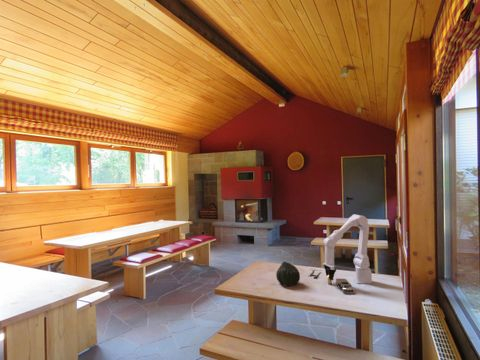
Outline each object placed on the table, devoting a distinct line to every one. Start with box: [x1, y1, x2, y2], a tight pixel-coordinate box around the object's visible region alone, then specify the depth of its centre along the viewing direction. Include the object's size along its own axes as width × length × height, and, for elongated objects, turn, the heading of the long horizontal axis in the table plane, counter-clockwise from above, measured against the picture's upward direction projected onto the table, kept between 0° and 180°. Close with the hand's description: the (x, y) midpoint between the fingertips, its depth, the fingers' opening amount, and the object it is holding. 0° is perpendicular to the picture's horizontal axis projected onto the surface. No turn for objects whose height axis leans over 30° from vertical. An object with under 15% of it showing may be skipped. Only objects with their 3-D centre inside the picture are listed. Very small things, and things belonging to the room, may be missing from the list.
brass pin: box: [327, 274, 333, 286], centre depth 193 cm, size 2×2×6 cm
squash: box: [275, 261, 301, 287], centre depth 195 cm, size 14×15×15 cm
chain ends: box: [335, 278, 355, 295], centre depth 184 cm, size 6×17×4 cm, turn 178°
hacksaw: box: [309, 268, 322, 280], centre depth 216 cm, size 24×10×2 cm, turn 152°
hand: (329, 277), depth 193 cm, fingers open, 7 cm apart
